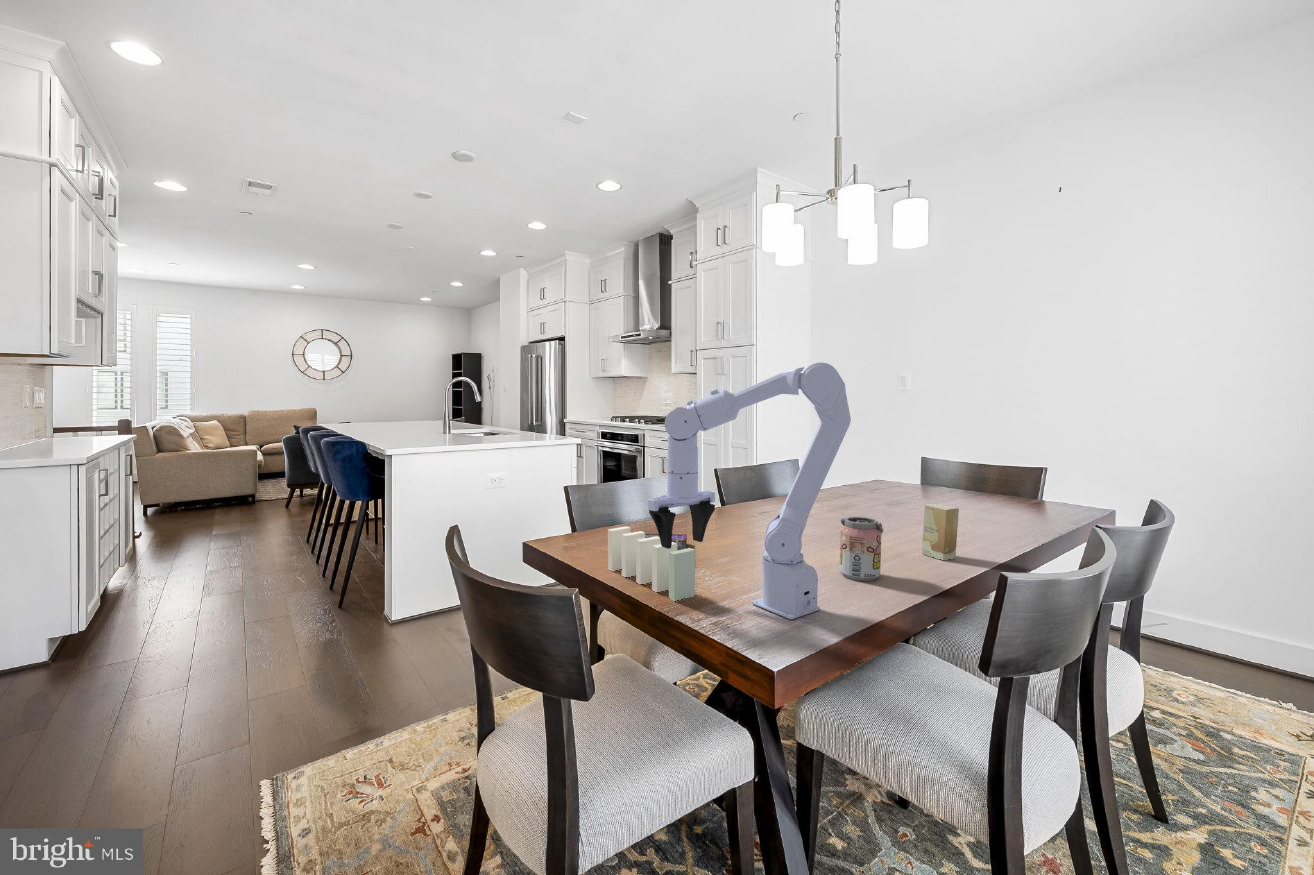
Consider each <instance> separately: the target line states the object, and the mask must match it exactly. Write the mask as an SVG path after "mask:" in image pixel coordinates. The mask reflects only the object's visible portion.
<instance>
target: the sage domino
mask: <svg viewBox="0 0 1314 875" xmlns="http://www.w3.org/2000/svg"><path fill="white" fill-rule="evenodd" d="M695 579H696V549H694V548H691V547H688V548H687V547H686V549H682V550H678V551H673V552H669V590H668V599H669V598H670V599H671V600H673V601H674V603H675V601H676V602H678V601H677V600H679V601H682V600H681V599H683V598H686V599H690V598H693V597H695V596H696V595H695V594H696V592H695V591H696V585H695V584H696V582H695V581H696V580H695ZM689 597H690V598H689ZM671 600H670V601H671ZM683 600H684V599H683ZM673 601H672V602H673Z"/></svg>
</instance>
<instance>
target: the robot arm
mask: <svg viewBox="0 0 1314 875" xmlns="http://www.w3.org/2000/svg"><path fill="white" fill-rule="evenodd" d="M803 370H804V371H803ZM845 383H846V382H844V380H843V379H842V377H841V375H840V373H839V372H838V370H837V369H836V368H835V367H834V366H833V365H831V364H829V363H826V362H816V363H813V364H810V365H808V366H807V368H805V367H804V366H802V367H797V368H794V369H790V370H786V371H782V372H780V373H777V374H776V375H773V376H771V377H769V378H766V379H764V380H762V381H759V382H758V383H755V384H752V385H750V386H748V387H745V388H744V389H741V390H739V391H737V392H735V393H733V392H730V391H728V390H726V389H722V390H720V391H719V389H714V390H711V391H710V395H708V396H705V397H702V398H700V399H698V400H696V401H693V400H689V401H687V402H686V405H687V406H686V407H683V406H677V407H675V408H674V409H673V410H671V411H670V412H668V414H667V415H666V416H665V419H664V428H665V431H666V433H667V434H668V435H667V448H666V449H667V453H666V456H667V458H666V460H667V461H666V462H667V463H666V466H667V468H666V469H667V470H666V471H667V473H666V475H667V476H666V477H667V479H666V483H667V484H666V487H667V488H666V489H667V492H666V493H665V494H664V495H660V496H656V497H653V498H648V499H647V510H648V514H649V515H650V517H651V519H652V520H653V522H654V525H655V527H656V530H657V534H659V537H660V541H661V546H662V547H664V548H667V549H669V548H671V545H672V534H673V527H674V522H675V519H676V516H677V513H676V512H673V511H671V508H679V507H685V506H688V509H689V512H690V517H691V529H692V530H691V531H692V540H693V541H695V542H698V543H702V542H703V541H704V536H705V535H706V534H705V533H706V530H707V527H708V524H709V521H710V518H711V517H712V516H713V513H714V512H715V511H716V505H715V504H714V503H716V492H715V491H710V490H704V491H699V447H698V433H699V431H701V432H706V431H709V430H711V429H714V428H716V427H718V426H719V427H720V426H722V425H724V424H726V423H729V422H731V421H735V420H736V419H737V417H738V415H739V412H740V410H741V409H744V408H747V407H751V406H752V405H755V404H758V403H761V402H763V401H766V400H768V399H771V398H774V397H776V396H779V395H792V396H793V395H795V396H799V395H800V393H799V392H800V391H801V392H802V394H803V395H804V396H805V397H806V399H807V400H809V402H811V404H812V405H813V407H814V410H815V413H816V414H817V416H818V418H819V421H820V423H819V425H818V427H817V429H816V431H815V434H814V436H813V438H812V441H811V443H810V444H809V445H810V446H809V447H808V449H807V451H806V454H805V457H804V458H803V461H802V463H801V465H800V467H799V469H798V471H797V474H796V476H795V478H794V481H793V482H792V485H791V487H790V490H789V492H788V495H787V496H786V499H785V501H784V503H783V504H782V506H781V508H780V510H779V511H778V514H777V515H776V516H775V517H774V518H773V519H771V520H770V521H769V522H768V524H767V526H766V530H765V534H766V535H765V537H764V549H765V551H764V552H763V553H762V564H761V565H762V566H761V567H762V568H761V569H762V570H761V571H762V572H761V574H762V577H761V583H762V585H761V597H759V598H757V599H753V600H751V604H752V605H754V606H757V607H759V608H761V609H764V610H766V611H769V612H772V613H774V614H776V615H779V616H781V617H783V618H786V619H788V620H794V619H798V618H800V617H803V616H805V615H808V614H811V613H814V612H816V611H820V610H821V606H819V605H818V587H819V586H818V583H819V581H818V580H819V579H818V578H819V576H818V573H817V570H816V569H815V567H814V566H811V565H810V564H808V563H807V562H806V561H805V560H804V554H803V553H802V547H803V546H802V544H803V543H802V536H803V534H804V530H805V529H806V525H807V522H808V518H809V515H810V513H811V510H812V508H813V506H814V504H815V502H816V501H817V500H816V499H817V497H818V496H819V493H820V491H821V488H822V487H823V485H824V482H825V480H826V477H827V476H828V474H829V471H830V469H831V468H832V465H833V463H834V460H835V458H836V457H837V454H838V452H839V449H840V447H841V445H842V443H843V441H844V438H845V436H846V434H847V432H848V430H849V427H850V425H851V421H852V418H851V412H850V408H849V402H848V398H847V392H846V384H845ZM799 390H800V391H799Z"/></svg>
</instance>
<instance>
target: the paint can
mask: <svg viewBox="0 0 1314 875" xmlns="http://www.w3.org/2000/svg"><path fill="white" fill-rule="evenodd" d="M840 523H841V525H843V526H842V527H841V530H840V542H839V543H840V544H839V547H840V548H839V571H840V573H841V575H842V576H843V577H844V578H846V579H849V580H851V581H852V580H853V581H859V582H873V581H876V580H877V579H878V578H879V577H880V576H881V565H882V564H881V563H882V562H881V559H882V534H883V533H884V528H883V523H882V522H879V521H878V520H876V519H875V518H871V517H864V516H849V517H848V516H847V517H846V518H841V520H840Z"/></svg>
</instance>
